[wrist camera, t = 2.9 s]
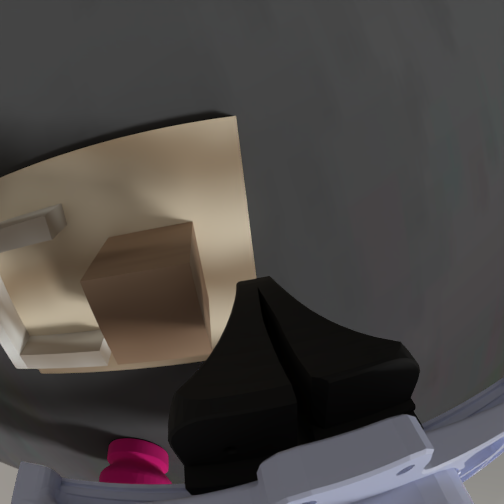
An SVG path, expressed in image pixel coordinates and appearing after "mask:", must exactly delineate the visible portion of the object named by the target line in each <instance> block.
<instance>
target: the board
mask: <svg viewBox="0 0 504 504" xmlns="http://www.w3.org/2000/svg"><path fill="white" fill-rule="evenodd" d="M192 221H193V225H194V230H195V235H196V240H197V245H198V250H199V255H200V260H201V265H202V269H203V274H204V279H205V283H206V288H207V292H208V297H209V310H210V326H211V340H212V351H213V349H214V348H215V346H216V344H217V343H218V341H219V339H220V337H221V335H222V333H223V331H224V329H225V327H226V324H227V322H228V319H229V317H230V314H231V311H232V307H233V304H234V300H235V295H236V284H237V283H238V282H239V281H245V280H251V279H256V271H255V263H254V256H253V248H252V240H251V232H250V224H249V216H248V208H247V200H246V192H245V184H244V176H243V168H242V161H241V153H240V145H239V137H238V129H237V121H236V116H230V117H223V118H216V119H209V120H203V121H197V122H191V123H185V124H180V125H175V126H169V127H164V128H160V129H155V130H150V131H146V132H141V133H137V134H133V135H129V136H125V137H121V138H117V139H113V140H109V141H105V142H102V143H98V144H95V145H91V146H88V147H84V148H81V149H78V150H75V151H71V152H68V153H65V154H62V155H59V156H56V157H53V158H50V159H47V160H44V161H42V162H39V163H36V164H33V165H31V166H28V167H25V168H23V169H20V170H18V171H15V172H13V173H10V174H8V175H5V176H3V177H1V178H0V343H1V345H2V347H3V348H4V350H5V352H6V353H7V355H8V356H9V358H10V359H11V361H12V363H13V364H14V366H15V367H16V369H39V371H40V372H41V374H46V373H83V372H102V371H117V370H129V369H140V368H151V367H160V366H169V365H177V364H185V363H192V362H199V361H206V360H207V358H208V357H209V355H210V354H206V355H199V356H192V357H185V358H177V359H169V360H161V361H152V362H142V363H132V364H121V365H118V364H117V362H116V360H115V358H114V356H113V354H112V352H111V350H110V348H109V346H108V344H107V342H106V340H105V338H104V336H103V334H102V332H101V330H100V328H99V325H98V323H97V321H96V319H95V317H94V314H93V312H92V310H91V308H90V305H89V303H88V301H87V298H86V296H85V293H84V291H83V288H82V286H81V283H80V280H81V279H82V277H83V276H84V274H85V272H86V271H87V269H88V268H89V266H90V264H91V263H92V261H93V260H94V258H95V257H96V255H97V254H98V252H99V251H100V249H101V248H102V246H103V245H104V243H105V242H106V240H107V239H108V237H113V236H118V235H123V234H128V233H133V232H138V231H143V230H149V229H154V228H159V227H165V226H170V225H176V224H181V223H187V222H192Z"/></svg>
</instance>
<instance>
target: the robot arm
mask: <svg viewBox="0 0 504 504" xmlns="http://www.w3.org/2000/svg"><path fill="white" fill-rule="evenodd" d="M419 373H420V369H419V365H418V363H417V362H416V360H415V359H414V358H413V356H412V355H411V353H410V352H409V351H408V350H407V349H406V348H405V346H404V345H403V344H402V343H401V342H398V341H393V340H387V339H382V338H377V337H373V336H369V335H366V334H362V333H359V332H356V331H353V330H350V329H348V328H345V327H343V326H340V325H338V324H336V323H334V322H331V321H329V320H327V319H326V318H324V317H322V316H320V315H318V314H316V313H315V312H313V311H311V310H310V309H309V308H307V307H306V306H304V305H303V304H301V303H300V302H299V301H297V300H296V299H295V298H294V297H292V296H291V295H290V294H289V293H287V292H286V291H285V290H284V289H283V288H282V287H281V286H280V285H279V284H277V283H276V282H275V281H274V280H273V279H272V278H271V277H270V276H267V277H262V278H256V279H251V280H245V281H239V282H238V283H237V284H236V295H235V300H234V304H233V307H232V311H231V314H230V317H229V319H228V322H227V324H226V327H225V329H224V331H223V333H222V335H221V337H220V339H219V341H218V343H217V344H216V346H215V348H214V349H213V351H212V352H211V354H210V355H209V357H208V358H207V360H206V361H205V362H204V363H203V365H202V366H201V367H200V368H199V369H198V371H197V372H196V373H195V374H194V375H193V377H192V378H191V379H190V380H189V381H187V382H186V383H185V384H184V385H183V386H182V387H181V388H180V389H179V390H178V391H177V392H176V393H175V395H174V398H173V401H172V405H171V410H170V415H169V422H168V442H169V444H170V447H171V448H172V449H173V451H174V452H175V454H176V455H177V457H178V458H179V459H180V461H181V462H182V463H183V465H184V472H185V483H184V484H120V483H105V482H94V481H85V480H77V479H70V478H63V477H61V476H60V475H59V474H58V473H57V472H56V471H54V470H53V469H51V468H49V467H47V466H45V465H41V464H35V463H30V462H26V461H21V462H20V466H19V470H18V474H17V478H16V482H15V487H14V491H13V496H12V502H11V504H474V503H473V501H472V499H471V497H470V495H469V493H468V491H467V490H466V488H465V486H464V484H463V482H464V481H466V480H467V479H469V478H470V477H472V476H473V475H474V474H476V473H477V472H479V471H480V470H481V469H483V468H484V467H485V466H486V465H488V464H489V463H490V462H492V461H493V460H494V459H496V458H497V457H498V456H499V455H501V454H502V453H503V452H504V377H503V378H502V379H500V380H499V381H497V382H496V383H494V384H493V385H491V386H490V387H488V388H486V389H485V390H483V391H482V392H480V393H478V394H477V395H475V396H473V397H472V398H470V399H468V400H467V401H465V402H463V403H461V404H460V405H458V406H456V407H454V408H452V409H450V410H449V411H447V412H445V413H443V414H441V415H439V416H437V417H435V418H433V419H431V420H429V421H427V422H425V423H423V424H421V423H420V421H419V419H418V418H417V416H416V415H415V413H414V411H413V410H415V404H414V402H413V401H412V399H411V395H412V393H413V391H414V388H415V386H416V383H417V380H418V377H419Z"/></svg>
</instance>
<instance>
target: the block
mask: <svg viewBox="0 0 504 504" xmlns="http://www.w3.org/2000/svg"><path fill="white" fill-rule="evenodd" d="M80 283H81V286H82V288H83V291H84V293H85V296H86V298H87V301H88V303H89V305H90V308H91V310H92V312H93V314H94V317H95V319H96V321H97V323H98V325H99V328H100V330H101V332H102V334H103V336H104V338H105V340H106V342H107V344H108V346H109V348H110V350H111V352H112V354H113V356H114V358H115V360H116V362H117V364H118V365H121V364H132V363H142V362H152V361H161V360H169V359H177V358H185V357H192V356H199V355H206V354H211V352H212V340H211V326H210V310H209V297H208V292H207V288H206V283H205V279H204V274H203V269H202V265H201V260H200V255H199V250H198V245H197V240H196V235H195V230H194V225H193V221H192V222H187V223H181V224H176V225H170V226H165V227H159V228H154V229H149V230H143V231H138V232H133V233H128V234H123V235H118V236H113V237H108V239H107V240H106V242H105V243H104V245H103V246H102V248H101V249H100V251H99V252H98V254H97V255H96V257H95V258H94V260H93V261H92V263H91V264H90V266H89V268H88V269H87V271H86V272H85V274H84V276H83V277H82V279H81V280H80Z"/></svg>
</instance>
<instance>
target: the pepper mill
mask: <svg viewBox="0 0 504 504" xmlns="http://www.w3.org/2000/svg"><path fill="white" fill-rule="evenodd" d="M107 460H108V462H109V463H110V465H109V466H108V467H106V468H105V469H104V470H103V471H102V472H101V474H100V477H99V482H105V483H120V484H172V483H171V481H170V480H169V479H168V477H167V476H166V475H165V473H166V472H167V471H168V454H167V452H166V451H165V450H164V449H163V448H161V447H160V446H158V445H156V444H154V443H151V442H148V441H145V440H140V439H133V438H122V439H117V440H114V441H112V442H111V443H110V444H109V448H108V455H107Z"/></svg>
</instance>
